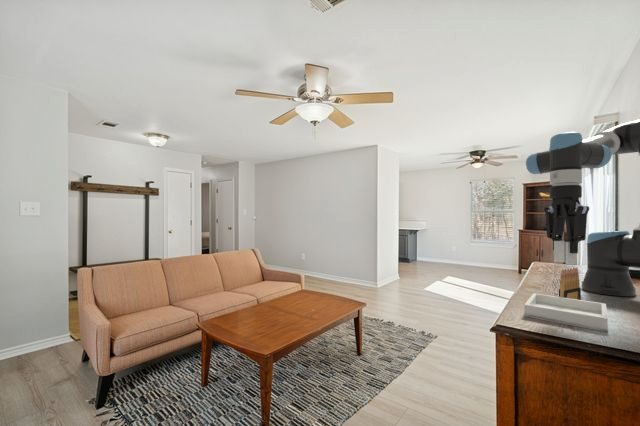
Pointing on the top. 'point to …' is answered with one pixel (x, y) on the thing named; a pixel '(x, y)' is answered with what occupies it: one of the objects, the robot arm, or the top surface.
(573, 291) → the ammunition clip
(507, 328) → the top surface
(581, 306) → the tray
